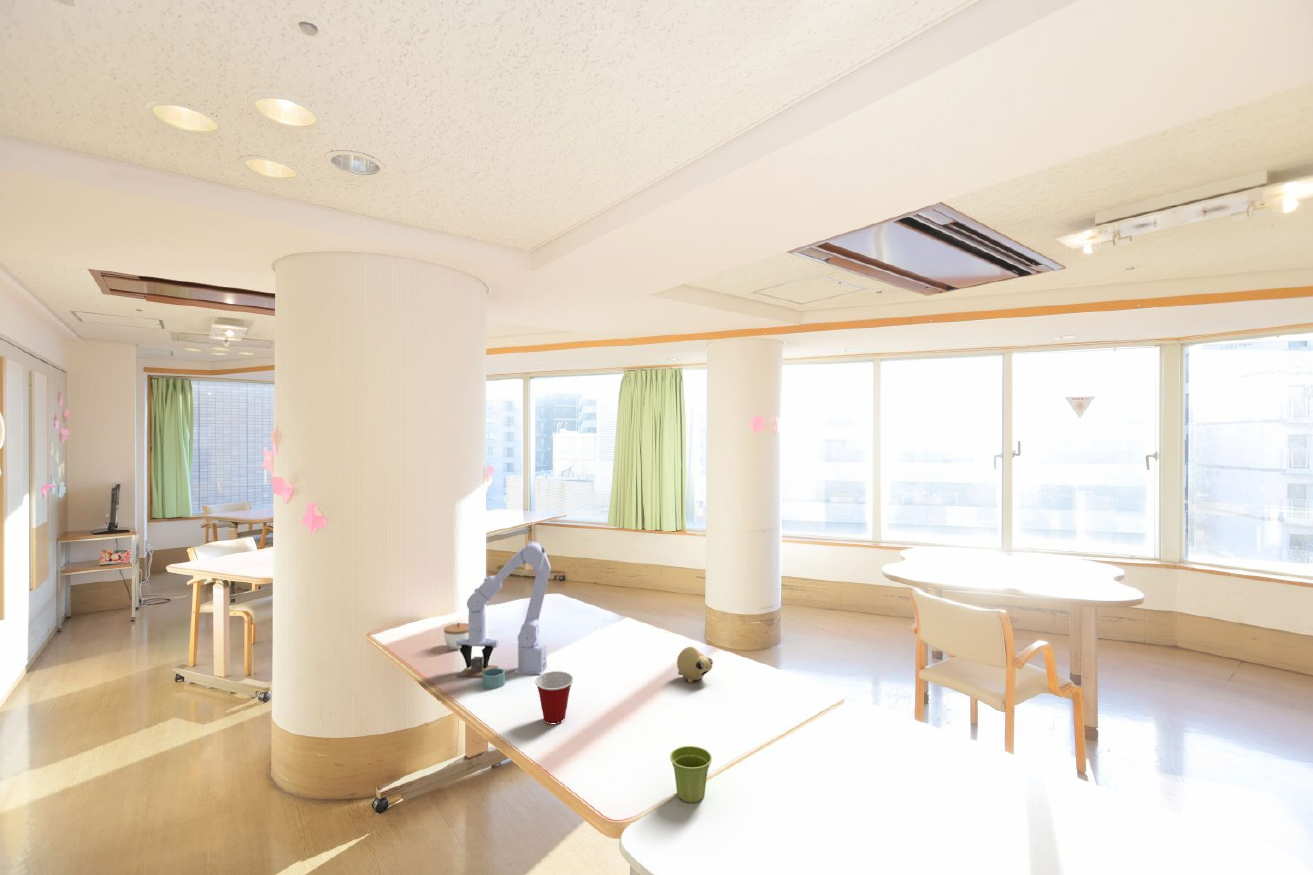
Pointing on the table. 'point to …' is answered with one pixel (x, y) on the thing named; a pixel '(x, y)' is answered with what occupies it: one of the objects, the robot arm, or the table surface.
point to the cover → (476, 668)
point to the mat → (470, 677)
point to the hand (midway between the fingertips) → (477, 667)
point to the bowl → (493, 678)
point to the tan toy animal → (693, 664)
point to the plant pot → (690, 771)
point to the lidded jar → (455, 634)
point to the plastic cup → (554, 694)
